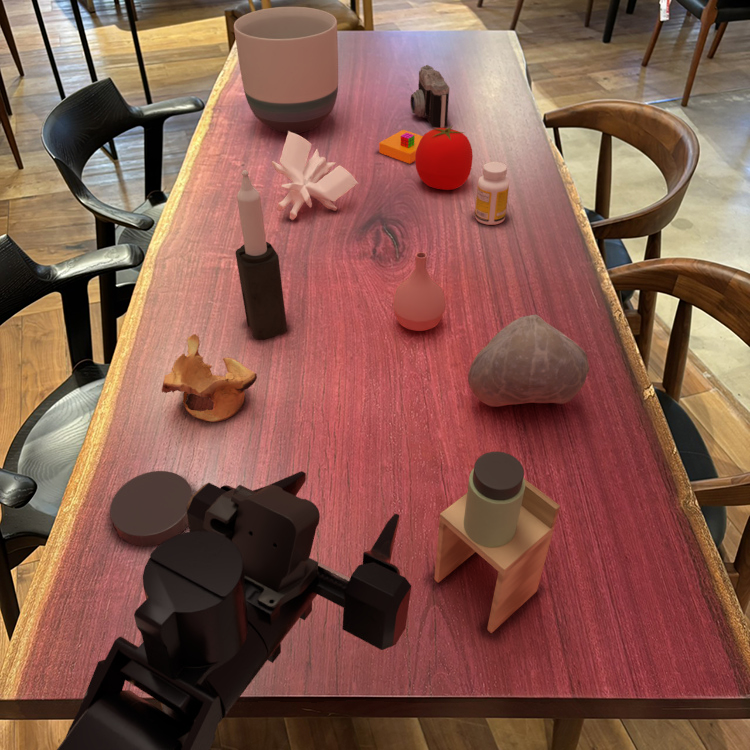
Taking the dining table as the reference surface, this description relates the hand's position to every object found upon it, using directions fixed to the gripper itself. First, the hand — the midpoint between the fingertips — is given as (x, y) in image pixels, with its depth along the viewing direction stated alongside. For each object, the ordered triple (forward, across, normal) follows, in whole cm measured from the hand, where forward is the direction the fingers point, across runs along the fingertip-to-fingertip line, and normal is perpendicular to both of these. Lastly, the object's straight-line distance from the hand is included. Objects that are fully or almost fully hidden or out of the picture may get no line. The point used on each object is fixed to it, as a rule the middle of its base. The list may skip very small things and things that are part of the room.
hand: (349, 495), depth 61 cm
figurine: (+67, +48, +9) cm, 83 cm away
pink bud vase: (+46, +15, +12) cm, 49 cm away
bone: (+19, +31, +16) cm, 39 cm away
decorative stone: (+37, -5, +13) cm, 40 cm away
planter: (+94, +69, +5) cm, 116 cm away
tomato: (+85, +29, +6) cm, 91 cm away
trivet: (+1, +26, +18) cm, 31 cm away
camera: (+112, +46, +3) cm, 121 cm away
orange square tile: (+94, +42, +5) cm, 104 cm away
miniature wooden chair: (+11, -11, +16) cm, 22 cm away
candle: (+34, +34, +14) cm, 50 cm away
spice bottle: (+8, -10, +5) cm, 14 cm away
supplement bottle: (+78, +17, +7) cm, 80 cm away
